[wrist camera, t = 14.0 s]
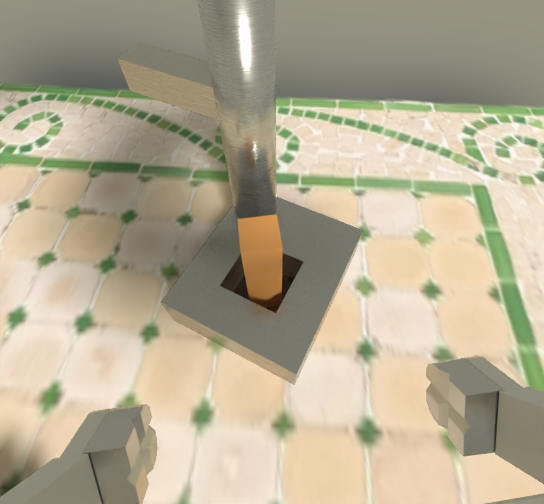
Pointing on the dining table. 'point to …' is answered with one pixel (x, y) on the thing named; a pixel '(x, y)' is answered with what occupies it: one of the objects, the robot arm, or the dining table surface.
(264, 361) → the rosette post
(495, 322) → the dining table surface
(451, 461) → the dining table surface
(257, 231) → the orange rectangular block
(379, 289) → the dining table surface
